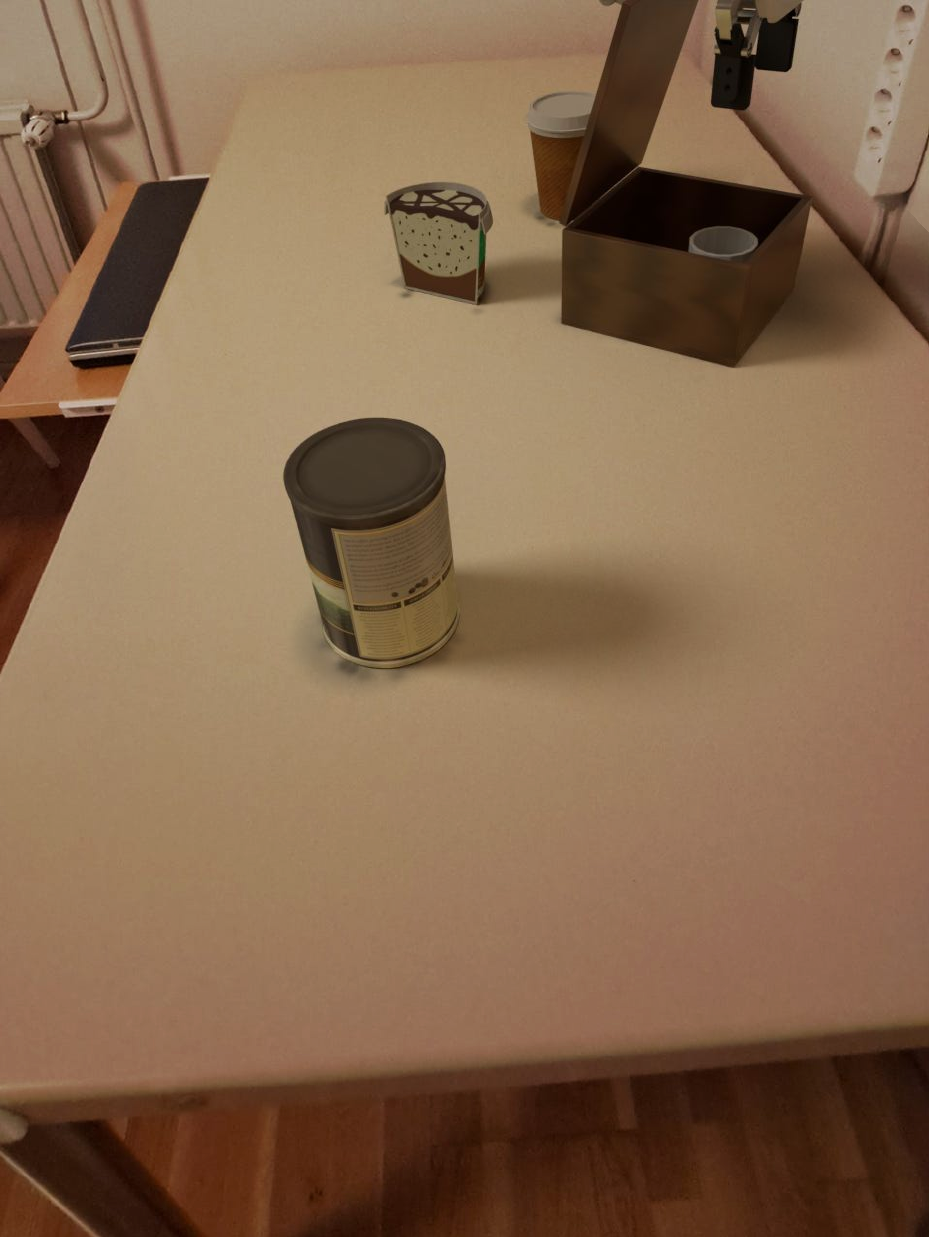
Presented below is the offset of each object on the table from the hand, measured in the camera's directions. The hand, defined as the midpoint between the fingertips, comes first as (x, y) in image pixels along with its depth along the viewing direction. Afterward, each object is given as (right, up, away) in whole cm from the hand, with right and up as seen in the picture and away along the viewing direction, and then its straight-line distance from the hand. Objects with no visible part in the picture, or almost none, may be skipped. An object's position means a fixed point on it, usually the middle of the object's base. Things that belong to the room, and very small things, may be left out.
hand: (751, 88), depth 80 cm
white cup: (+1, -14, +15) cm, 20 cm away
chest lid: (-9, +2, +5) cm, 11 cm away
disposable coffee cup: (-12, +5, +35) cm, 37 cm away
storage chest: (-2, -13, +17) cm, 22 cm away
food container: (-26, -8, +24) cm, 36 cm away
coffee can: (-30, -46, -11) cm, 56 cm away
